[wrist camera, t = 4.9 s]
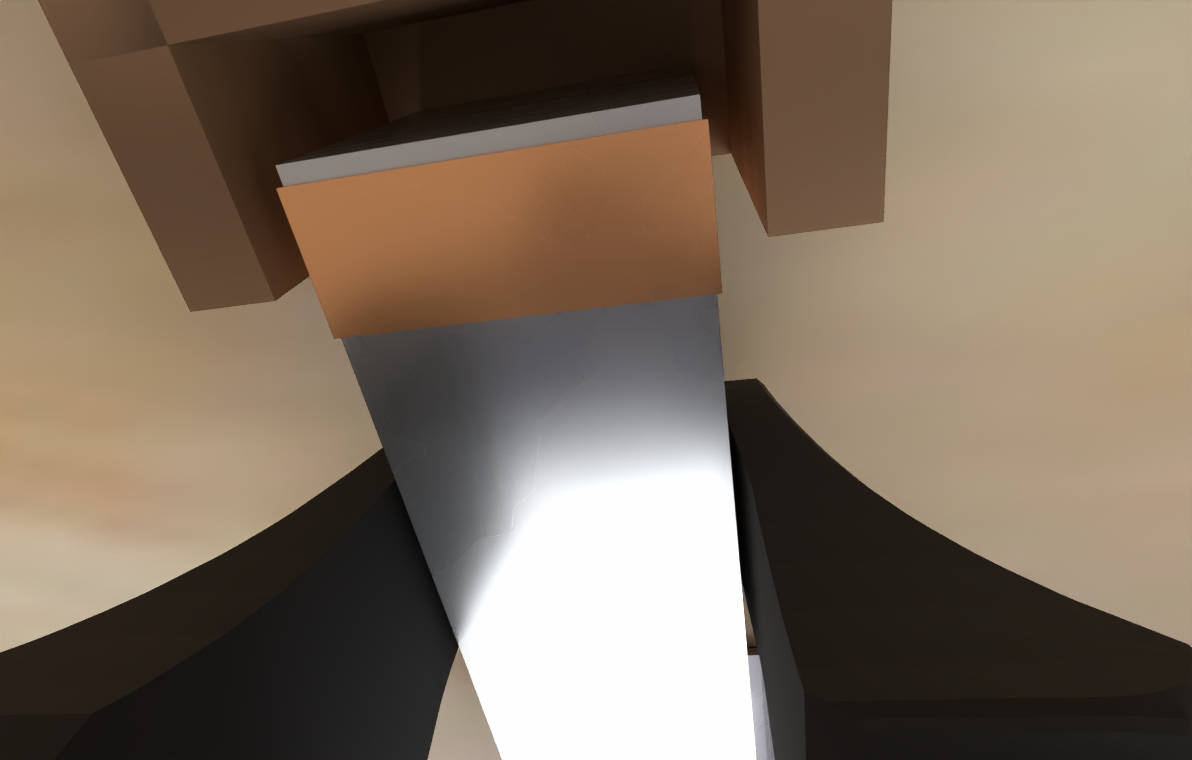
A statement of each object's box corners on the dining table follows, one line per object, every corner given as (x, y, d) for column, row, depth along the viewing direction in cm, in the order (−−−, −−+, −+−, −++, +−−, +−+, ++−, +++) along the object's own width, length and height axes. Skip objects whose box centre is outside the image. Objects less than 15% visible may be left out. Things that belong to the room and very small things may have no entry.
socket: (798, 139, 10) (884, 221, 6) (360, 206, 11) (189, 311, 7) (793, -127, 8) (901, -252, 4) (285, -17, 9) (18, -39, 6)
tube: (744, 651, 15) (767, 856, 11) (565, 657, 15) (532, 851, 12) (692, 62, 9) (706, 94, 6) (414, 112, 10) (269, 167, 6)
